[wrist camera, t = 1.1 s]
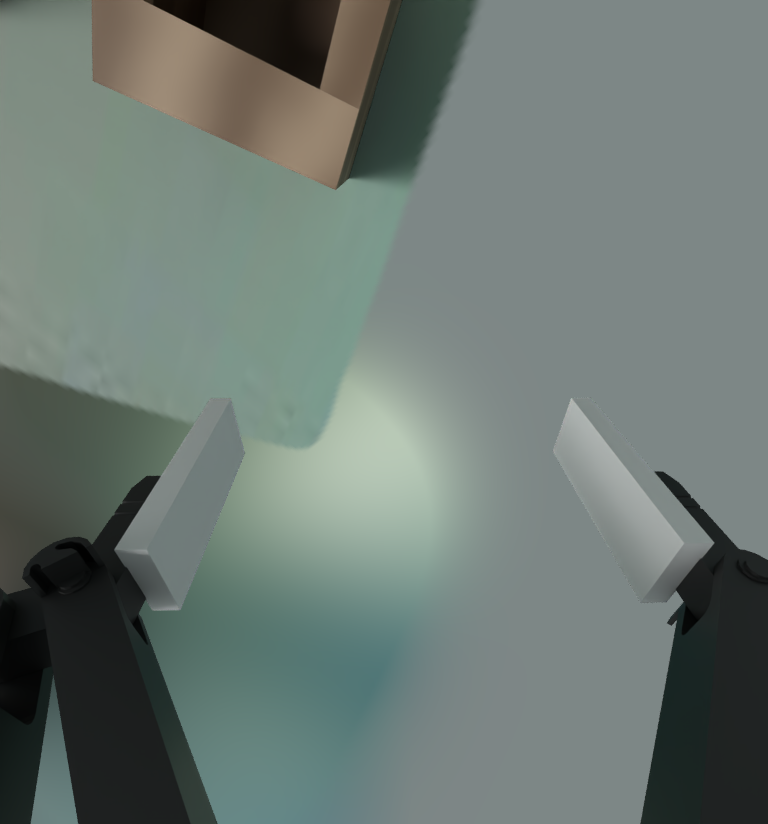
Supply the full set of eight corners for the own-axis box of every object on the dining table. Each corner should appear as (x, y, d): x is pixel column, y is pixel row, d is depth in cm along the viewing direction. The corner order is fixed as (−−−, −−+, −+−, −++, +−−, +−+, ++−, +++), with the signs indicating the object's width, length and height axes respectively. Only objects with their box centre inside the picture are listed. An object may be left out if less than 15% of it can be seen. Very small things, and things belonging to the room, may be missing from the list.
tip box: (188, 104, 27) (92, 80, 18) (212, -155, 21) (86, -387, 12) (348, 178, 30) (335, 190, 21) (412, -33, 24) (433, -148, 15)
